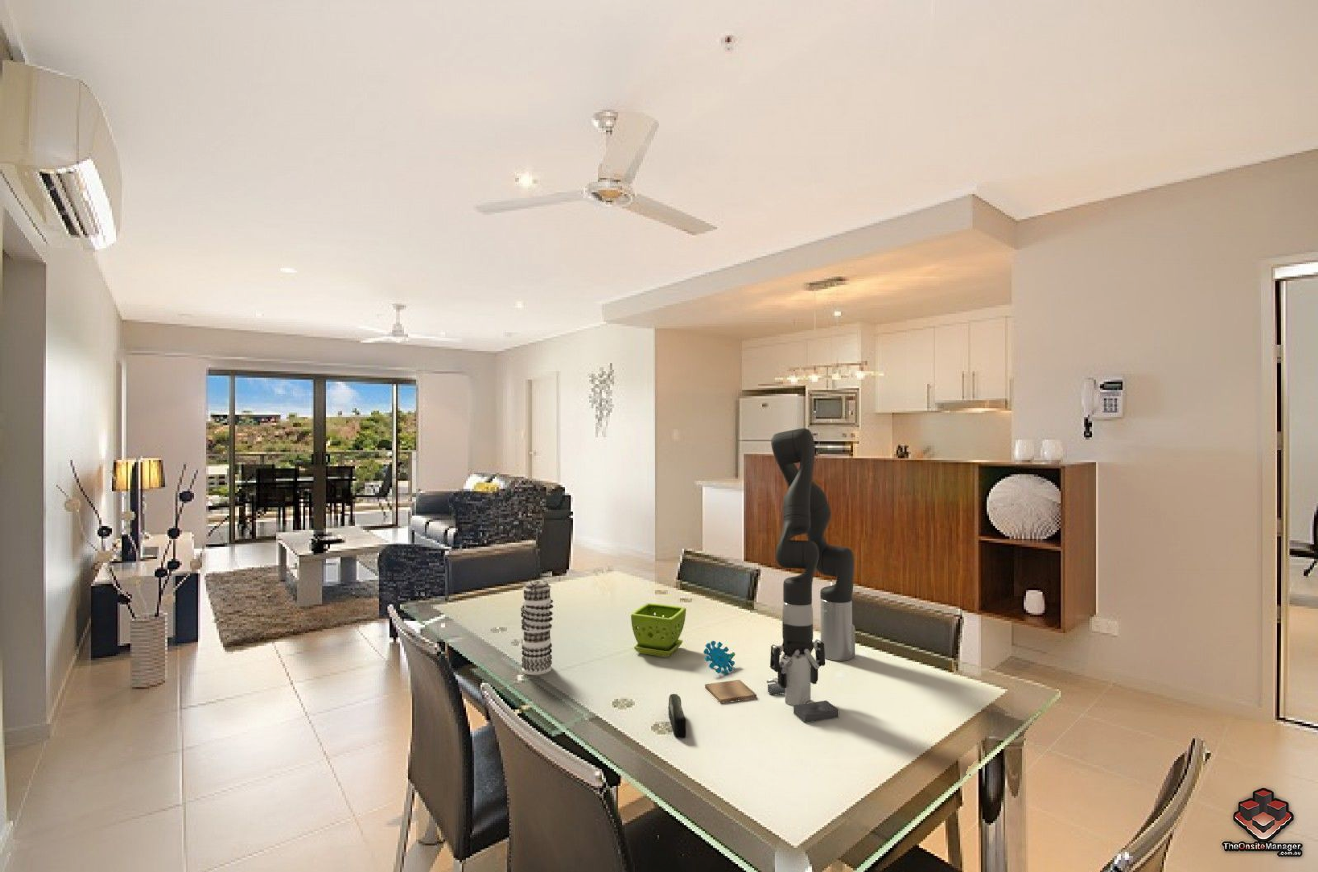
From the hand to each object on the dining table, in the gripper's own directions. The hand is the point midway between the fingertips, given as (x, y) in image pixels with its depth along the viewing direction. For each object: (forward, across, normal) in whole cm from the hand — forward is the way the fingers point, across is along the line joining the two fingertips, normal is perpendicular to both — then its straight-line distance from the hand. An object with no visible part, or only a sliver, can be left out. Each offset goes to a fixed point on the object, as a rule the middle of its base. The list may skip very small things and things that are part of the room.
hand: (798, 685), depth 149 cm
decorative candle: (+4, +60, -42) cm, 73 cm away
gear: (+4, +10, -25) cm, 28 cm away
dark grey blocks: (+4, 0, 0) cm, 4 cm away
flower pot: (+4, +22, -46) cm, 51 cm away
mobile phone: (+5, +33, +1) cm, 33 cm away
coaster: (+4, +14, -10) cm, 18 cm away
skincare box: (+4, 0, 0) cm, 4 cm away
